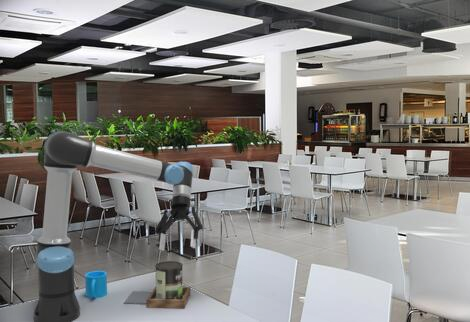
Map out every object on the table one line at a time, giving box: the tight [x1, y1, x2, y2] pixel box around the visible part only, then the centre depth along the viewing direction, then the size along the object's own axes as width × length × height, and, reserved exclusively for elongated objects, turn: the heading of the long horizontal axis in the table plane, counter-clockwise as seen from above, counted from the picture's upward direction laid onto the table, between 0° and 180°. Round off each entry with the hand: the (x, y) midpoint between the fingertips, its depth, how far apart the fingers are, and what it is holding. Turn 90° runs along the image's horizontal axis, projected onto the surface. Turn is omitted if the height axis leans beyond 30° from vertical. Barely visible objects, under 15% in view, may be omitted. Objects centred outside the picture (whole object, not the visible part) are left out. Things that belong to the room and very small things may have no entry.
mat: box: [123, 290, 153, 305], centre depth 177 cm, size 9×12×1 cm
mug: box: [84, 270, 108, 299], centre depth 179 cm, size 12×8×8 cm
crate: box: [145, 286, 191, 310], centre depth 174 cm, size 14×14×3 cm
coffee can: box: [154, 260, 184, 300], centre depth 174 cm, size 10×10×14 cm
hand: (177, 248), depth 177 cm, fingers open, 13 cm apart
